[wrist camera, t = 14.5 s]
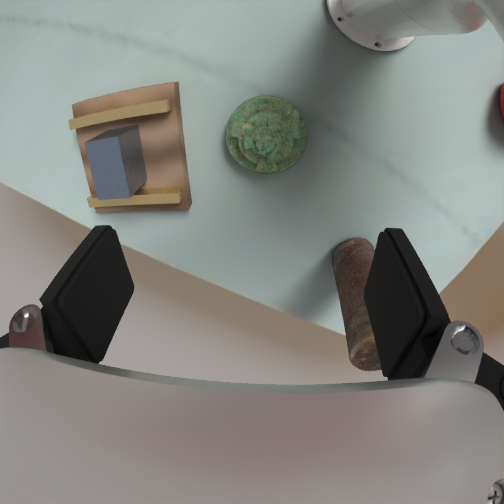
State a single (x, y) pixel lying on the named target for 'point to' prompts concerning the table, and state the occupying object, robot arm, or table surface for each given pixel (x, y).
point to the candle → (356, 301)
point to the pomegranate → (502, 100)
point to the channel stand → (152, 139)
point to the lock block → (116, 162)
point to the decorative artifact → (266, 135)
